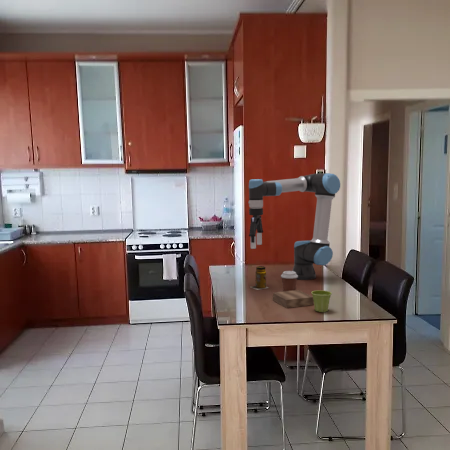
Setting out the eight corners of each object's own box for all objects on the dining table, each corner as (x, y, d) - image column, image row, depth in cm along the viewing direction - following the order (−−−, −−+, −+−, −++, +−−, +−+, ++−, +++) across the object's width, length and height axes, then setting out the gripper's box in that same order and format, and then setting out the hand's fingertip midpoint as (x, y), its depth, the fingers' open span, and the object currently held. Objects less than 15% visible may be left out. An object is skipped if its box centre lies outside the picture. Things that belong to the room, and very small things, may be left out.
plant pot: (308, 308, 221) (309, 290, 220) (327, 307, 222) (328, 289, 221) (314, 313, 212) (314, 295, 211) (334, 313, 213) (334, 294, 212)
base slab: (298, 297, 240) (298, 289, 240) (313, 304, 226) (313, 296, 226) (272, 300, 235) (272, 292, 235) (286, 308, 221) (286, 300, 221)
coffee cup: (284, 296, 241) (284, 274, 240) (278, 292, 250) (278, 271, 249) (300, 295, 244) (300, 273, 242) (293, 291, 252) (293, 269, 251)
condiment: (269, 287, 261) (269, 267, 259) (257, 290, 256) (257, 269, 255) (261, 285, 267) (261, 265, 265) (249, 287, 262) (249, 266, 261)
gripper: (255, 205, 261) (255, 242, 263) (243, 209, 237) (243, 250, 240) (267, 206, 258) (268, 243, 261) (257, 209, 235) (257, 250, 237)
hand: (256, 246), depth 250 cm, fingers open, 13 cm apart
